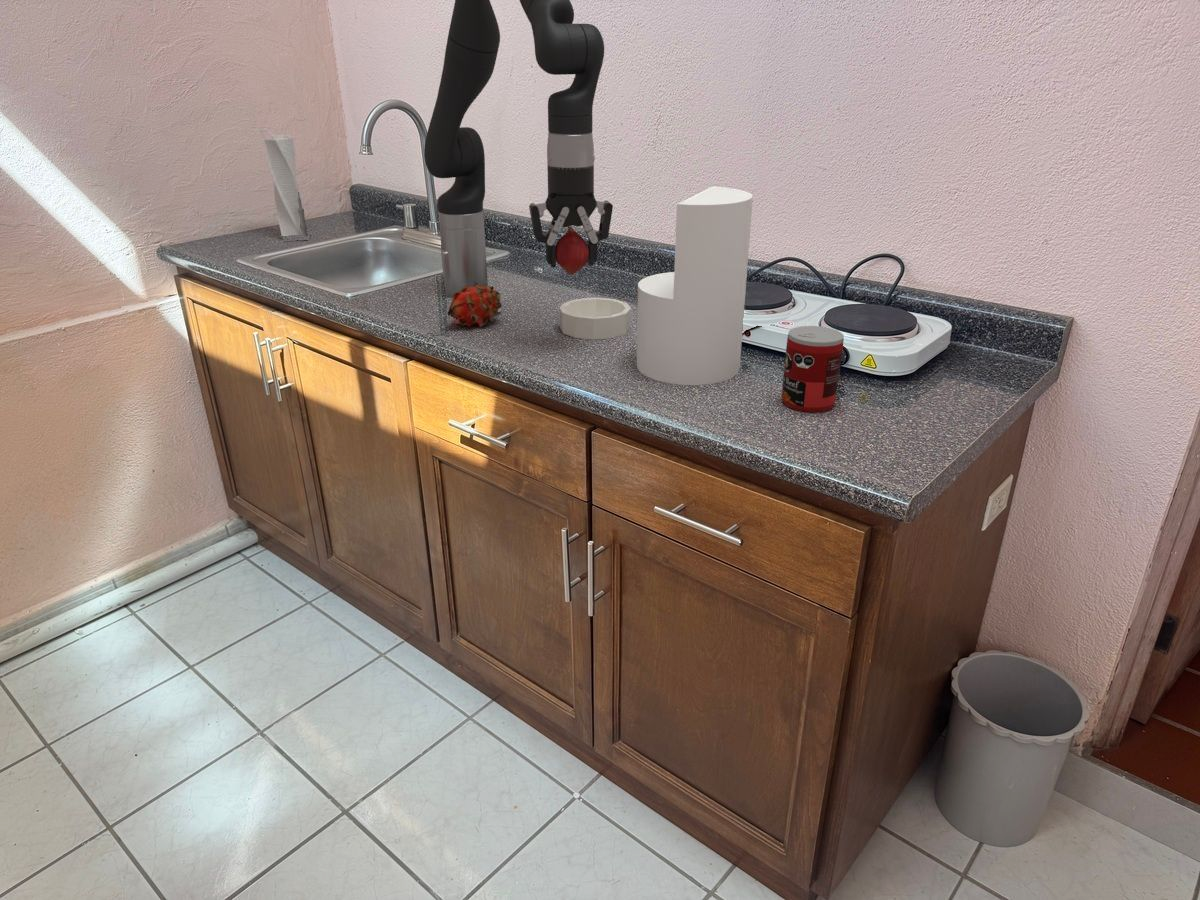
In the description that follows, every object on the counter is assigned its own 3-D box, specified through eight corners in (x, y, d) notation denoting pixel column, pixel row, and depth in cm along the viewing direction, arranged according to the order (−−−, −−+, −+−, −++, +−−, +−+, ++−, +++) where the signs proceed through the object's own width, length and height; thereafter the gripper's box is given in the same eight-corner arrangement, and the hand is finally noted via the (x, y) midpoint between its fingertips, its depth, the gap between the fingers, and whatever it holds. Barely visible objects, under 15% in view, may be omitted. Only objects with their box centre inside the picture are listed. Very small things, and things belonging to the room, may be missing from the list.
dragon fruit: (508, 326, 166) (456, 347, 160) (484, 295, 168) (432, 315, 162) (516, 299, 159) (462, 320, 153) (491, 266, 161) (437, 286, 155)
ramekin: (567, 341, 153) (567, 320, 151) (555, 320, 164) (555, 300, 162) (637, 336, 155) (637, 315, 153) (620, 315, 167) (620, 296, 165)
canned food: (775, 394, 131) (781, 326, 126) (825, 392, 131) (834, 324, 126) (789, 414, 124) (796, 343, 119) (842, 412, 124) (851, 341, 119)
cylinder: (751, 356, 146) (765, 189, 133) (722, 392, 131) (734, 208, 119) (657, 343, 152) (662, 182, 139) (620, 375, 138) (622, 199, 125)
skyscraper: (276, 242, 225) (257, 130, 213) (280, 235, 233) (261, 127, 220) (309, 240, 227) (291, 130, 214) (311, 234, 234) (295, 127, 222)
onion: (593, 271, 146) (593, 225, 142) (582, 280, 141) (581, 232, 137) (562, 268, 147) (561, 222, 144) (549, 277, 142) (548, 229, 139)
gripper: (609, 157, 140) (607, 258, 148) (523, 159, 138) (526, 262, 145) (619, 164, 134) (617, 269, 141) (529, 166, 131) (532, 273, 139)
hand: (571, 265), depth 143 cm, fingers closed on onion, 6 cm apart
